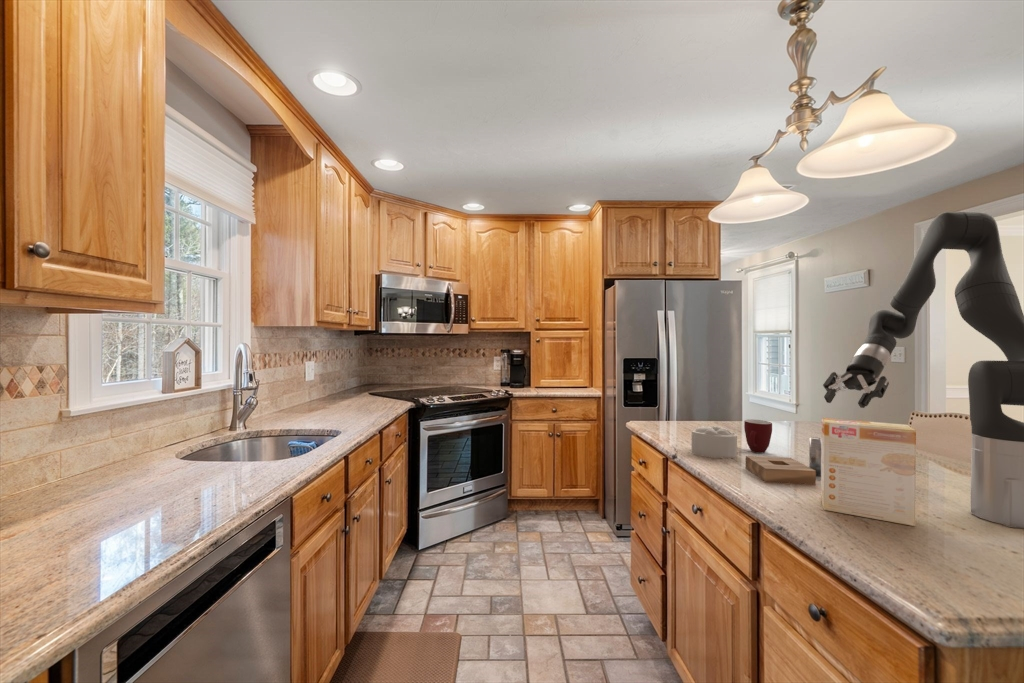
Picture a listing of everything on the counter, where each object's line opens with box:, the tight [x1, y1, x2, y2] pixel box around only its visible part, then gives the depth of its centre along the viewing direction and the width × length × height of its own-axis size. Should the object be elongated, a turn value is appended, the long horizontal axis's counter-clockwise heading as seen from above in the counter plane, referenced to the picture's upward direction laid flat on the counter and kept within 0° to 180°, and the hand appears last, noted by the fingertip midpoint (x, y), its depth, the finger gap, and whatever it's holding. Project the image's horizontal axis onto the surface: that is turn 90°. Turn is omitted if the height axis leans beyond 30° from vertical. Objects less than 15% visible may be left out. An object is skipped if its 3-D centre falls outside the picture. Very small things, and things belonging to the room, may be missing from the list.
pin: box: [808, 436, 821, 477], centre depth 114 cm, size 3×3×10 cm
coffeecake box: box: [820, 417, 917, 527], centre depth 90 cm, size 15×7×20 cm, turn 58°
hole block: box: [745, 455, 817, 486], centre depth 112 cm, size 12×12×4 cm
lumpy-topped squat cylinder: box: [690, 425, 738, 460], centre depth 135 cm, size 10×13×9 cm
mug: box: [743, 419, 773, 454], centre depth 138 cm, size 11×8×10 cm
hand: (843, 403), depth 118 cm, fingers open, 8 cm apart
